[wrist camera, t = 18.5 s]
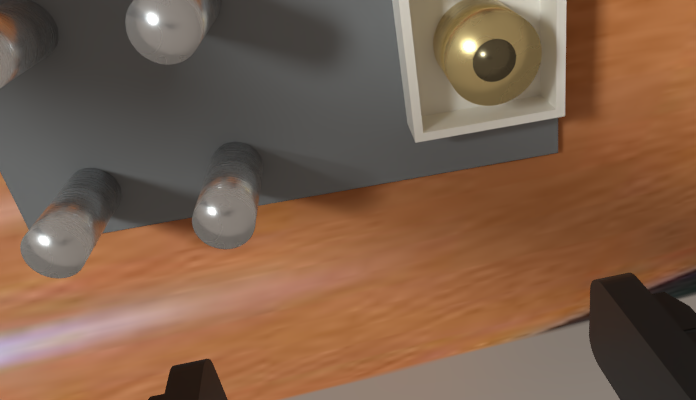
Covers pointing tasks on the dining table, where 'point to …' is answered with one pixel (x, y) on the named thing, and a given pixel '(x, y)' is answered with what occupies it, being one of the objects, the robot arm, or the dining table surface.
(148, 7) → the spacers
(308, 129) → the mat
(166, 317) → the dining table surface
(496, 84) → the nut
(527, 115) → the white square tray
